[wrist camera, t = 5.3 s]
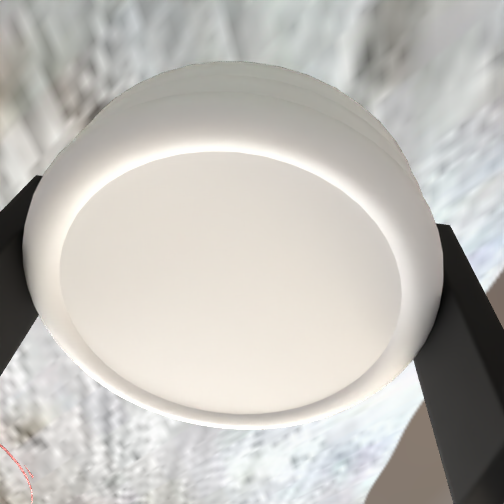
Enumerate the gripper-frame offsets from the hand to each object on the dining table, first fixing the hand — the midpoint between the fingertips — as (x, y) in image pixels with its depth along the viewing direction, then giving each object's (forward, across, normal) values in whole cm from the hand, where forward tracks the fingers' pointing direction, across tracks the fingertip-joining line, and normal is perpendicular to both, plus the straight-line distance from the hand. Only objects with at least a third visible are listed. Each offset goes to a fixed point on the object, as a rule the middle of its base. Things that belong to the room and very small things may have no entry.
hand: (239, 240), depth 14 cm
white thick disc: (0, 0, 0) cm, 0 cm away
